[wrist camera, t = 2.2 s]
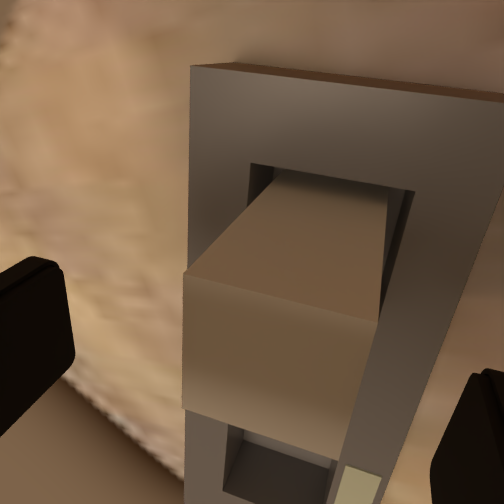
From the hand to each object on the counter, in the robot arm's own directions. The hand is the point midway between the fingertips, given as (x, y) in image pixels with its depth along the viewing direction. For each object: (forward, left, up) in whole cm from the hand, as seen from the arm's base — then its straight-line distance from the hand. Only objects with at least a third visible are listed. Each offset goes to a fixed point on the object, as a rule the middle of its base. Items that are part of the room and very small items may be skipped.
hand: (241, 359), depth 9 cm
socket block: (-1, +7, -10) cm, 12 cm away
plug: (-1, 0, -10) cm, 10 cm away
